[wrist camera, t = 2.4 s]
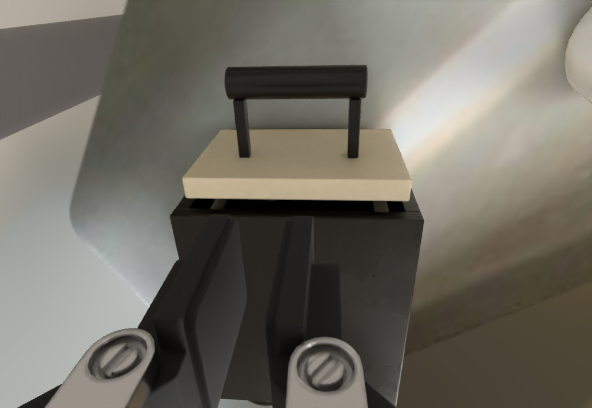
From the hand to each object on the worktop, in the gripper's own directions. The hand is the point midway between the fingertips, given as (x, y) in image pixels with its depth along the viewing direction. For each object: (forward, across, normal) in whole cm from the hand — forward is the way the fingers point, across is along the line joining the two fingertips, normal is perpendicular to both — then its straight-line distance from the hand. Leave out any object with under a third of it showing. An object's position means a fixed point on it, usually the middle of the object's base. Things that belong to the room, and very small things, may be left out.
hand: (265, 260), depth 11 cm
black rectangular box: (+17, 0, +10) cm, 20 cm away
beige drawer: (+16, 0, +6) cm, 17 cm away
